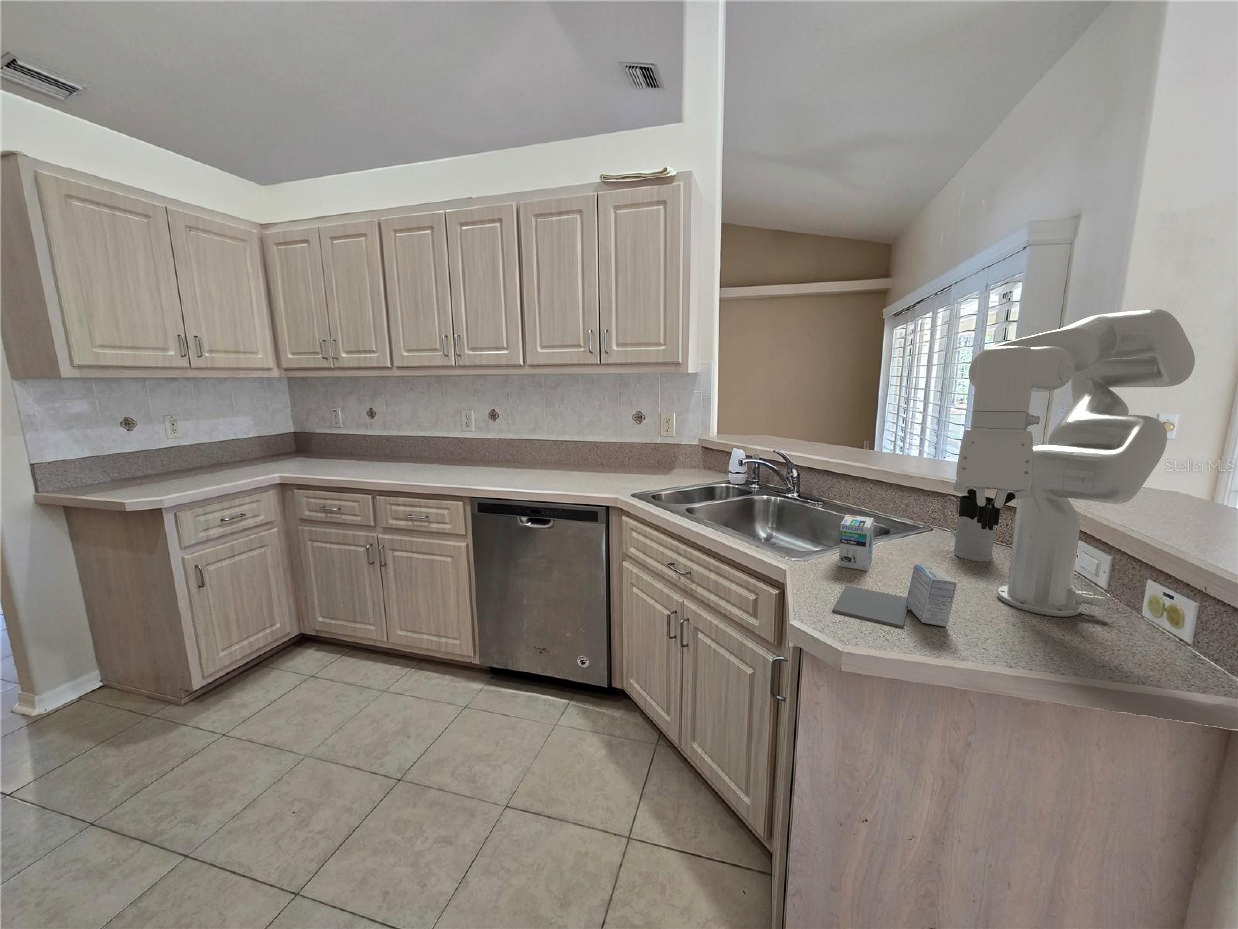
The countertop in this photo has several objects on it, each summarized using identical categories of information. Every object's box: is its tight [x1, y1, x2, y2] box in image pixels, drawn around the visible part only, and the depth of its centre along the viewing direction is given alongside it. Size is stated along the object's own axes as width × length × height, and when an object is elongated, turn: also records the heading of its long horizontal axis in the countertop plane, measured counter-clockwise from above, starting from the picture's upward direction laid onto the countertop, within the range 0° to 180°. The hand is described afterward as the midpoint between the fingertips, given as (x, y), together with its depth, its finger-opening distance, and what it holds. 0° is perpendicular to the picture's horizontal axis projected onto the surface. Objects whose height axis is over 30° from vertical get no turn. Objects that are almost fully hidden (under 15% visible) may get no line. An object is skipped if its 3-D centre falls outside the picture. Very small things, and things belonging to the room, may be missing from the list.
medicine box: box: [906, 564, 958, 628], centre depth 91 cm, size 8×4×9 cm, turn 169°
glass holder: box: [941, 494, 996, 562], centre depth 127 cm, size 9×14×15 cm, turn 14°
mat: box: [831, 584, 909, 629], centre depth 97 cm, size 12×14×1 cm
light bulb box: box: [838, 514, 875, 572], centre depth 121 cm, size 11×7×11 cm, turn 148°
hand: (986, 528), depth 85 cm, fingers closed
